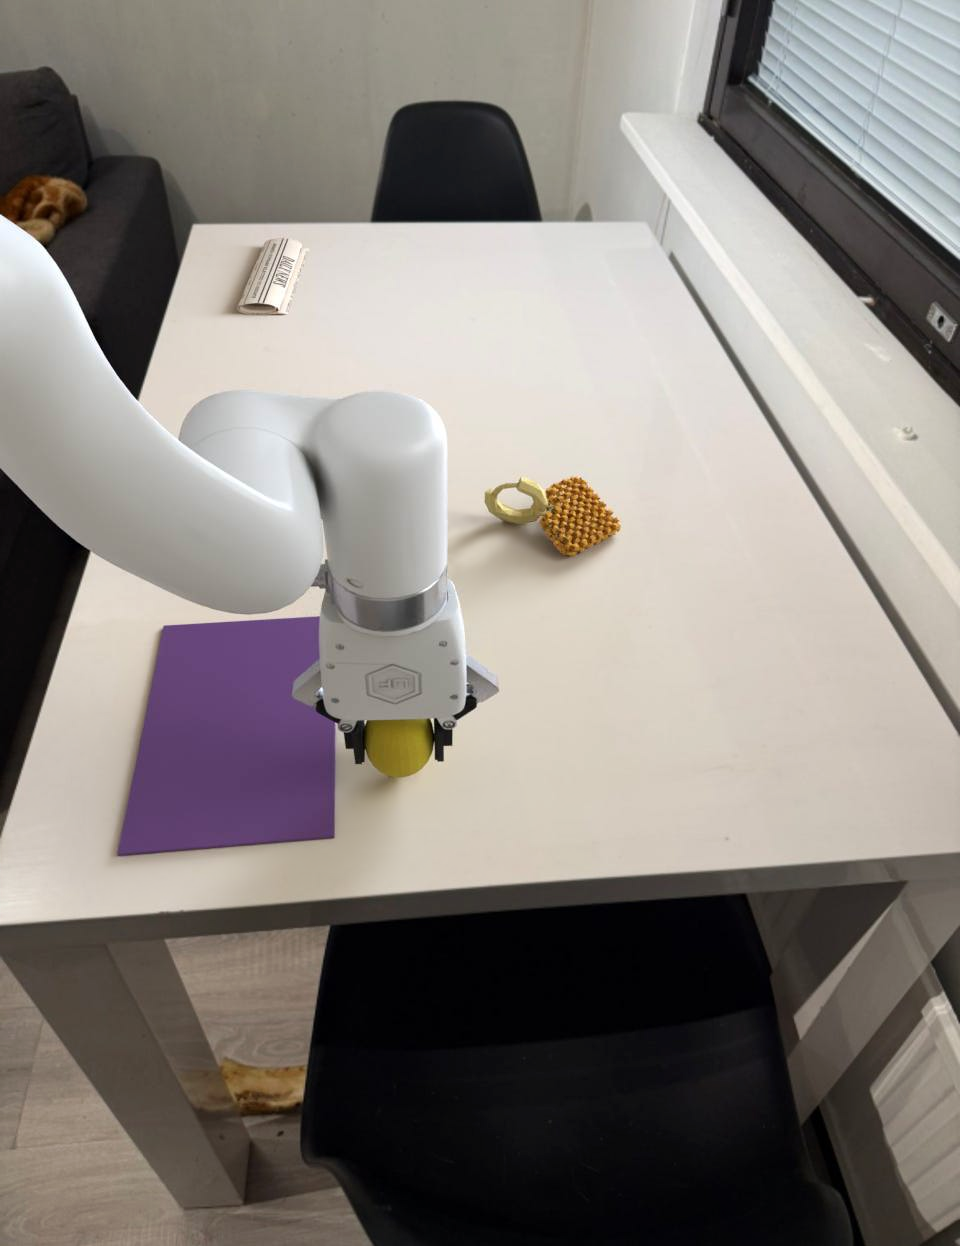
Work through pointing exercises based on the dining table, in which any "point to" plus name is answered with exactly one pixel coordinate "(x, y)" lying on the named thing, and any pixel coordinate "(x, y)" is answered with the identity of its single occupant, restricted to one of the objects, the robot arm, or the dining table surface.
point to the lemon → (399, 745)
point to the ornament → (560, 512)
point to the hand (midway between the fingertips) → (399, 746)
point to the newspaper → (274, 278)
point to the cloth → (231, 742)
